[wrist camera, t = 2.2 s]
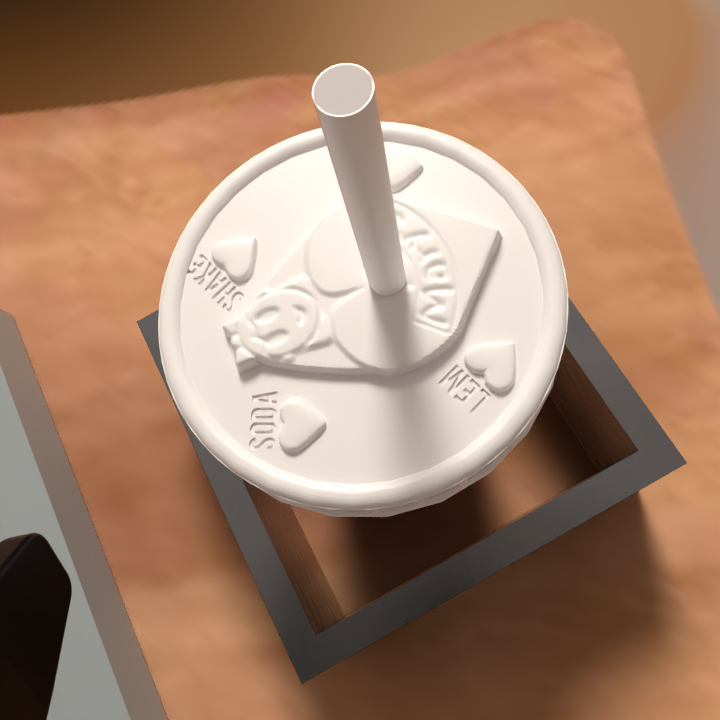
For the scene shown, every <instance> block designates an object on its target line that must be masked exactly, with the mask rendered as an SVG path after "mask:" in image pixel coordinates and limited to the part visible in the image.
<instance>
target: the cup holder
mask: <svg viewBox="0 0 720 720" xmlns="http://www.w3.org/2000/svg"><path fill="white" fill-rule="evenodd" d="M158 317H159V310H157V311H155V312H153V313H152V314H150V315H148V316H146V317H144V318H143V319H141V320H139V321H137V323H138V325H139V328H140V330H141V332H142V334H143V336H144V339H145V341H146V343H147V345H148V347H149V350H150V352H151V354H152V356H153V358H154V361H155V363H156V365H157V367H158V369H159V372H160V374H161V376H162V378H163V380H164V383H165V385H166V387H167V389H168V391H169V394H170V396H171V398H172V400H173V402H174V405H175V407H176V409H177V411H178V413H179V416H180V418H181V420H182V422H183V424H184V427H185V429H186V431H187V433H188V435H189V438H190V440H191V442H192V444H193V446H194V448H195V451H196V453H197V455H198V457H199V459H200V462H201V464H202V466H203V468H204V470H205V473H206V475H207V477H208V479H209V481H210V484H211V486H212V488H213V490H214V492H215V495H216V497H217V499H218V501H219V503H220V506H221V508H222V510H223V512H224V514H225V517H226V519H227V521H228V523H229V525H230V528H231V530H232V532H233V534H234V536H235V539H236V541H237V543H238V545H239V547H240V550H241V552H242V554H243V556H244V558H245V561H246V563H247V565H248V567H249V569H250V572H251V574H252V576H253V578H254V580H255V582H256V585H257V587H258V589H259V591H260V593H261V596H262V598H263V600H264V602H265V604H266V607H267V609H268V611H269V613H270V615H271V618H272V620H273V622H274V624H275V626H276V629H277V631H278V633H279V635H280V637H281V640H282V642H283V644H284V646H285V648H286V651H287V653H288V655H289V657H290V659H291V662H292V664H293V666H294V668H295V670H296V673H297V675H298V677H299V679H300V681H301V684H302V683H304V682H306V681H308V680H309V679H311V678H313V677H315V676H316V675H318V674H320V673H322V672H323V671H325V670H327V669H329V668H330V667H332V666H334V665H336V664H337V663H339V662H341V661H343V660H344V659H346V658H348V657H349V656H351V655H353V654H355V653H356V652H358V651H360V650H362V649H363V648H365V647H367V646H369V645H370V644H372V643H374V642H376V641H377V640H379V639H381V638H383V637H384V636H386V635H388V634H390V633H391V632H393V631H395V630H397V629H398V628H400V627H402V626H404V625H405V624H407V623H409V622H411V621H412V620H414V619H416V618H418V617H419V616H421V615H423V614H424V613H426V612H428V611H430V610H431V609H433V608H435V607H437V606H438V605H440V604H442V603H444V602H445V601H447V600H449V599H451V598H452V597H454V596H456V595H458V594H459V593H461V592H463V591H465V590H466V589H468V588H470V587H472V586H473V585H475V584H477V583H479V582H480V581H482V580H484V579H486V578H487V577H489V576H491V575H493V574H494V573H496V572H498V571H500V570H501V569H503V568H505V567H506V566H508V565H510V564H512V563H513V562H515V561H517V560H519V559H520V558H522V557H524V556H526V555H527V554H529V553H531V552H533V551H534V550H536V549H538V548H540V547H541V546H543V545H545V544H547V543H548V542H550V541H552V540H554V539H555V538H557V537H559V536H561V535H562V534H564V533H566V532H568V531H569V530H571V529H573V528H575V527H576V526H578V525H580V524H581V523H583V522H585V521H587V520H588V519H590V518H592V517H594V516H595V515H597V514H599V513H601V512H602V511H604V510H606V509H608V508H609V507H611V506H613V505H615V504H616V503H618V502H620V501H622V500H623V499H625V498H627V497H629V496H630V495H632V494H634V493H636V492H637V491H639V490H641V489H643V488H644V487H646V486H648V485H650V484H651V483H653V482H655V481H657V480H658V479H660V478H662V477H663V476H665V475H667V474H669V473H670V472H672V471H674V470H676V469H677V468H679V467H681V466H683V465H684V464H686V463H687V462H686V461H685V460H684V458H683V457H682V455H681V454H680V453H679V451H678V450H677V448H676V447H675V446H674V444H673V443H672V441H671V440H670V439H669V437H668V436H667V434H666V433H665V432H664V430H663V429H662V427H661V426H660V425H659V423H658V422H657V420H656V419H655V418H654V416H653V415H652V413H651V412H650V411H649V409H648V408H647V406H646V405H645V404H644V402H643V401H642V399H641V398H640V397H639V395H638V394H637V392H636V391H635V390H634V388H633V387H632V385H631V384H630V383H629V381H628V380H627V378H626V377H625V376H624V374H623V373H622V371H621V370H620V369H619V367H618V366H617V364H616V363H615V362H614V360H613V359H612V357H611V356H610V355H609V353H608V352H607V350H606V349H605V348H604V346H603V345H602V343H601V342H600V341H599V339H598V338H597V336H596V335H595V334H594V332H593V331H592V329H591V328H590V327H589V325H588V324H587V322H586V321H585V320H584V318H583V317H582V315H581V314H580V313H579V311H578V310H577V308H576V307H575V306H574V304H573V303H572V301H571V300H570V299H569V297H568V322H567V332H566V338H565V343H564V348H563V353H562V356H561V359H560V363H559V366H558V369H557V372H556V374H555V379H554V383H553V387H552V389H551V391H550V393H549V395H548V396H549V398H550V399H551V401H552V402H553V404H554V405H555V407H556V408H557V410H558V411H559V413H560V414H561V416H562V417H563V419H564V420H565V422H566V423H567V425H568V426H569V428H570V429H571V431H572V432H573V434H574V435H575V437H576V438H577V440H578V441H579V443H580V444H581V446H582V447H583V449H584V450H585V452H586V453H587V455H588V456H589V458H590V459H591V461H592V462H593V464H594V465H595V467H596V468H597V470H598V472H596V473H595V474H593V475H591V476H589V477H588V478H586V479H584V480H582V481H581V482H579V483H577V484H575V485H574V486H572V487H570V488H568V489H567V490H565V491H563V492H561V493H560V494H558V495H556V496H554V497H553V498H551V499H549V500H547V501H546V502H544V503H542V504H540V505H539V506H537V507H535V508H533V509H532V510H530V511H528V512H526V513H525V514H523V515H521V516H519V517H518V518H516V519H514V520H512V521H511V522H509V523H507V524H505V525H504V526H502V527H500V528H498V529H497V530H495V531H493V532H491V533H490V534H488V535H486V536H484V537H483V538H481V539H479V540H477V541H476V542H474V543H472V544H470V545H469V546H467V547H465V548H463V549H462V550H460V551H458V552H456V553H455V554H453V555H451V556H449V557H448V558H446V559H444V560H442V561H441V562H439V563H437V564H435V565H434V566H432V567H430V568H428V569H427V570H425V571H423V572H421V573H420V574H418V575H416V576H414V577H413V578H411V579H409V580H407V581H406V582H404V583H402V584H400V585H399V586H397V587H395V588H393V589H392V590H390V591H388V592H386V593H385V594H383V595H381V596H379V597H378V598H376V599H374V600H372V601H371V602H369V603H367V604H365V605H364V606H362V607H360V608H358V609H357V610H355V611H353V612H351V613H350V614H348V615H346V616H344V614H343V612H342V610H341V608H340V606H339V604H338V602H337V600H336V598H335V596H334V594H333V592H332V590H331V588H330V586H329V584H328V582H327V580H326V578H325V576H324V574H323V571H322V569H321V567H320V565H319V563H318V561H317V559H316V557H315V555H314V553H313V551H312V549H311V547H310V545H309V543H308V541H307V539H306V537H305V535H304V533H303V531H302V529H301V527H300V525H299V523H298V521H297V519H296V517H295V515H294V512H293V510H292V508H291V506H290V505H289V504H286V503H282V502H280V501H278V500H277V499H275V498H273V497H272V496H270V495H268V494H267V493H265V492H264V491H262V490H260V489H259V488H257V487H256V486H254V485H252V484H250V483H249V482H247V481H246V480H244V479H243V478H241V477H240V476H238V475H236V474H235V473H233V472H232V471H231V470H230V469H228V468H227V467H226V466H225V465H224V464H222V463H221V462H220V461H219V460H217V459H216V458H215V457H214V456H213V455H212V454H211V453H210V452H209V451H208V449H207V448H206V447H205V446H204V445H203V444H202V443H201V442H200V440H199V439H198V438H197V437H196V435H195V434H194V433H193V432H192V430H191V429H190V427H189V426H188V424H187V422H186V421H185V419H184V418H183V416H182V415H181V413H180V411H179V409H178V407H177V405H176V403H175V401H174V399H173V396H172V394H171V391H170V388H169V386H168V383H167V380H166V377H165V373H164V369H163V365H162V360H161V354H160V347H159V334H158Z"/></svg>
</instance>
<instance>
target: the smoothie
mask: <svg viewBox="0 0 720 720" xmlns="http://www.w3.org/2000/svg"><path fill="white" fill-rule="evenodd" d="M312 98H313V102H314V105H315V108H316V111H317V115H318V118H319V121H320V124H321V128H319V129H315V130H312V131H308V132H305V133H302V134H299V135H297V136H294V137H292V138H289V139H286V140H284V141H282V142H280V143H278V144H276V145H274V146H272V147H270V148H268V149H266V150H265V151H263V152H261V153H259V154H258V155H256V156H254V157H253V158H251V159H250V160H249V161H247V162H246V163H244V164H243V165H241V166H240V167H239V168H237V169H236V170H235V171H234V172H233V173H232V174H230V175H229V176H228V177H227V178H226V179H224V180H223V181H222V182H221V183H220V184H219V185H218V186H217V187H216V188H215V189H214V190H213V191H212V192H211V194H210V195H209V196H208V197H207V198H206V200H205V201H204V202H203V203H202V204H201V205H200V207H199V208H198V210H197V211H196V212H195V214H194V215H193V217H192V218H191V220H190V221H189V223H188V224H187V226H186V228H185V229H184V231H183V233H182V235H181V236H180V238H179V241H178V243H177V245H176V247H175V249H174V251H173V254H172V256H171V259H170V262H169V265H168V268H167V270H166V274H165V278H164V282H163V286H162V291H161V297H160V304H159V317H158V334H159V347H160V354H161V360H162V365H163V369H164V373H165V377H166V380H167V383H168V386H169V388H170V391H171V394H172V396H173V399H174V401H175V403H176V405H177V407H178V409H179V411H180V413H181V415H182V416H183V418H184V419H185V421H186V422H187V424H188V426H189V427H190V429H191V430H192V432H193V433H194V434H195V435H196V437H197V438H198V439H199V440H200V442H201V443H202V444H203V445H204V446H205V447H206V448H207V449H208V451H209V452H210V453H211V454H212V455H213V456H214V457H215V458H216V459H217V460H219V461H220V462H221V463H222V464H224V465H225V466H226V467H227V468H228V469H230V470H231V471H232V472H233V473H235V474H236V475H238V476H240V477H241V478H243V479H244V480H246V481H247V482H249V483H250V484H252V485H254V486H256V487H257V488H259V489H260V490H262V491H264V492H265V493H267V494H268V495H270V496H272V497H273V498H275V499H277V500H278V501H280V502H282V503H286V504H289V505H293V506H296V507H300V508H303V509H307V510H310V511H314V512H317V513H321V514H324V515H328V516H331V517H389V516H392V515H396V514H400V513H403V512H407V511H411V510H414V509H418V508H422V507H425V506H429V505H433V504H436V503H440V502H442V501H444V500H446V499H448V498H449V497H451V496H453V495H454V494H456V493H458V492H459V491H461V490H463V489H464V488H466V487H468V486H469V485H471V484H473V483H474V482H476V481H478V480H480V479H481V478H483V477H485V476H486V475H488V474H490V473H491V472H492V471H493V469H494V468H495V467H496V466H497V465H498V464H499V463H500V462H501V461H502V460H503V459H504V458H505V457H506V456H507V455H508V454H509V453H510V452H511V451H512V450H513V449H514V448H515V446H516V445H517V444H518V443H519V442H520V441H521V440H522V439H523V438H524V437H525V436H526V435H527V434H528V432H529V430H530V429H531V427H532V425H533V423H534V421H535V419H536V417H537V415H538V413H539V412H540V410H541V408H542V406H543V404H544V402H545V400H546V398H547V396H548V395H549V393H550V391H551V389H552V387H553V383H554V379H555V374H556V372H557V369H558V366H559V363H560V359H561V356H562V353H563V348H564V343H565V338H566V332H567V322H568V288H567V281H566V274H565V269H564V265H563V261H562V257H561V253H560V250H559V247H558V245H557V242H556V239H555V237H554V234H553V232H552V230H551V228H550V226H549V224H548V222H547V220H546V218H545V216H544V215H543V213H542V212H541V210H540V208H539V207H538V205H537V204H536V202H535V201H534V200H533V198H532V197H531V196H530V195H529V193H528V192H527V191H526V189H525V188H524V187H523V186H522V185H521V184H520V183H519V182H518V181H517V180H516V179H515V178H514V177H513V176H512V175H511V174H510V173H509V172H508V171H507V170H506V169H504V168H503V167H502V166H501V165H500V164H498V163H497V162H496V161H495V160H493V159H492V158H490V157H489V156H487V155H486V154H484V153H483V152H481V151H480V150H478V149H476V148H474V147H472V146H471V145H469V144H467V143H465V142H463V141H461V140H458V139H456V138H454V137H452V136H449V135H447V134H444V133H441V132H438V131H434V130H431V129H428V128H423V127H419V126H415V125H409V124H402V123H395V122H380V116H379V110H378V104H377V98H376V92H375V86H374V81H373V78H372V76H371V75H370V73H369V72H368V71H367V70H366V69H365V68H363V67H361V66H359V65H356V64H352V63H342V64H337V65H334V66H331V67H329V68H327V69H326V70H324V71H323V72H322V73H321V74H320V75H319V76H318V77H317V79H316V80H315V82H314V84H313V87H312Z"/></svg>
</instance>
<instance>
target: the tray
mask: <svg viewBox="0 0 720 720" xmlns="http://www.w3.org/2000/svg"><path fill="white" fill-rule="evenodd" d="M29 533H39V534H41V535H42V536H44V537H45V538H46V539H47V541H48V542H49V544H50V546H51V547H52V549H53V550H54V552H55V554H56V555H57V557H58V559H59V560H60V562H61V563H62V565H63V567H64V568H65V570H66V572H67V573H68V575H69V577H70V581H71V585H72V596H71V602H70V607H69V612H68V617H67V622H66V628H65V633H64V638H63V643H62V648H61V653H60V659H59V664H58V669H57V674H56V679H55V684H54V690H53V694H52V699H51V703H50V708H49V712H48V716H47V720H168V718H167V716H166V713H165V711H164V708H163V705H162V703H161V700H160V698H159V695H158V692H157V690H156V687H155V685H154V682H153V679H152V677H151V674H150V672H149V669H148V666H147V664H146V661H145V659H144V656H143V653H142V651H141V648H140V646H139V643H138V640H137V638H136V635H135V633H134V630H133V627H132V625H131V622H130V620H129V617H128V614H127V612H126V609H125V607H124V604H123V601H122V599H121V596H120V594H119V591H118V588H117V586H116V583H115V581H114V578H113V575H112V573H111V570H110V568H109V565H108V562H107V560H106V557H105V555H104V552H103V549H102V547H101V544H100V542H99V539H98V537H97V534H96V531H95V529H94V526H93V524H92V521H91V518H90V516H89V513H88V511H87V508H86V505H85V503H84V500H83V498H82V495H81V492H80V490H79V487H78V485H77V482H76V479H75V477H74V474H73V472H72V469H71V466H70V464H69V461H68V459H67V456H66V453H65V451H64V448H63V446H62V443H61V440H60V438H59V435H58V433H57V430H56V427H55V425H54V422H53V420H52V417H51V414H50V412H49V409H48V407H47V404H46V401H45V399H44V396H43V394H42V391H41V388H40V386H39V383H38V381H37V378H36V375H35V373H34V370H33V368H32V365H31V362H30V360H29V357H28V355H27V352H26V349H25V347H24V344H23V342H22V339H21V336H20V334H19V331H18V329H17V326H16V323H15V321H14V318H13V316H12V315H11V314H9V313H7V312H5V311H3V310H2V309H0V542H1V541H3V540H4V539H7V538H10V537H14V536H19V535H24V534H29Z"/></svg>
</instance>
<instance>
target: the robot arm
mask: <svg viewBox="0 0 720 720" xmlns="http://www.w3.org/2000/svg"><path fill="white" fill-rule="evenodd" d="M71 596H72V585H71V581H70V577H69V575H68V573H67V572H66V570H65V568H64V567H63V565H62V563H61V562H60V560H59V559H58V557H57V555H56V554H55V552H54V550H53V549H52V547H51V546H50V544H49V542H48V541H47V539H46V538H45V537H44V536H42V535H41V534H39V533H29V534H24V535H19V536H14V537H10V538H7V539H4V540H3V541H1V542H0V720H47V716H48V712H49V708H50V703H51V699H52V694H53V690H54V684H55V679H56V674H57V669H58V664H59V659H60V653H61V648H62V643H63V638H64V633H65V628H66V622H67V617H68V612H69V607H70V602H71Z"/></svg>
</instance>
